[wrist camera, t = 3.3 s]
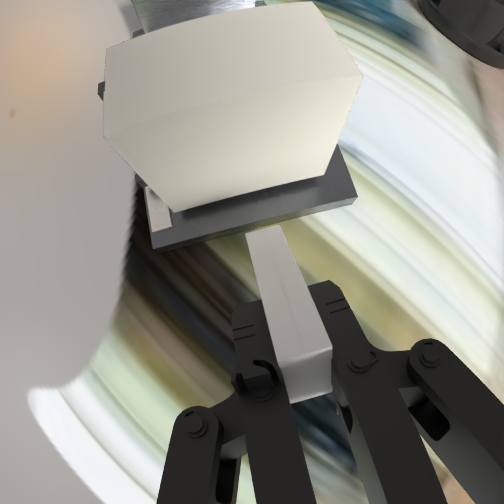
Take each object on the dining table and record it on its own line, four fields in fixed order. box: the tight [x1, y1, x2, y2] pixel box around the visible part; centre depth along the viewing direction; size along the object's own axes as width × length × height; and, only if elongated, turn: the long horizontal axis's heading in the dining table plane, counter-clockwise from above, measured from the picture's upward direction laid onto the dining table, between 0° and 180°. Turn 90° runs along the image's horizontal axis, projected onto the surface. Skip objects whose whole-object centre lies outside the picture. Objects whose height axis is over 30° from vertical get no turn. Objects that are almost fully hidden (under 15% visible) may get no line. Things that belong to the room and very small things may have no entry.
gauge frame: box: [131, 0, 358, 253], centre depth 17 cm, size 22×13×10 cm, turn 14°
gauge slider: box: [98, 2, 363, 213], centre depth 14 cm, size 5×11×9 cm, turn 104°
